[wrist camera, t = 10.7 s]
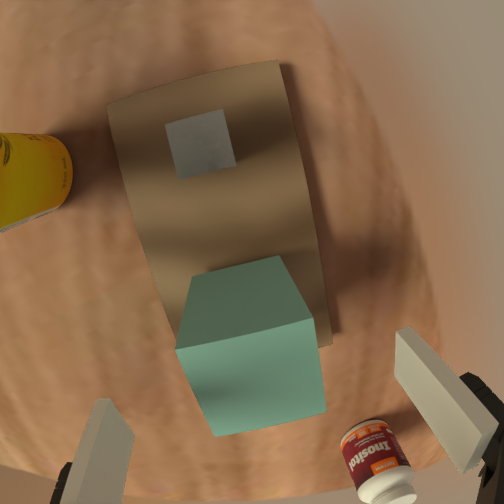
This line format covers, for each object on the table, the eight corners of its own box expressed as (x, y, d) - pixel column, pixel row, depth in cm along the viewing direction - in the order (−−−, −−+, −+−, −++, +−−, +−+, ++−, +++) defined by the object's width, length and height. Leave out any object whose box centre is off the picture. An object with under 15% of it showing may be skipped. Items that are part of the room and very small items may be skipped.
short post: (178, 131, 20) (164, 124, 15) (223, 120, 20) (222, 108, 15) (189, 175, 20) (178, 180, 16) (233, 163, 20) (236, 165, 16)
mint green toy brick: (191, 276, 21) (175, 349, 13) (279, 255, 21) (313, 317, 13) (215, 348, 23) (214, 436, 15) (294, 330, 23) (326, 411, 15)
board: (111, 107, 20) (105, 105, 18) (274, 64, 20) (277, 59, 19) (192, 369, 26) (192, 377, 25) (328, 336, 26) (333, 343, 25)
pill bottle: (374, 409, 30) (415, 484, 19) (394, 429, 32) (431, 494, 21) (328, 440, 31) (356, 517, 20) (353, 456, 32) (381, 524, 22)
